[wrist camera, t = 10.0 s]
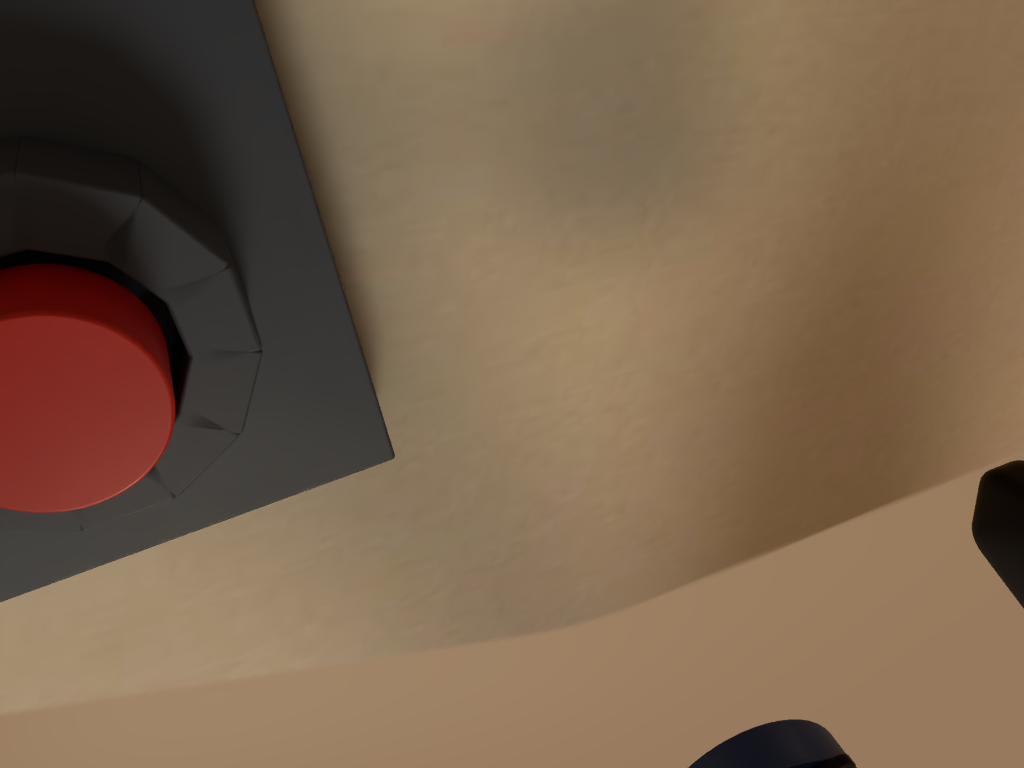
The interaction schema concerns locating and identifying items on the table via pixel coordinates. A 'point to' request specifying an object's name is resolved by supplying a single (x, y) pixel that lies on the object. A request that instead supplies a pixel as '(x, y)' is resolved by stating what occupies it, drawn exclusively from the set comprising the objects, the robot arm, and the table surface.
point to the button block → (181, 260)
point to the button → (77, 389)
